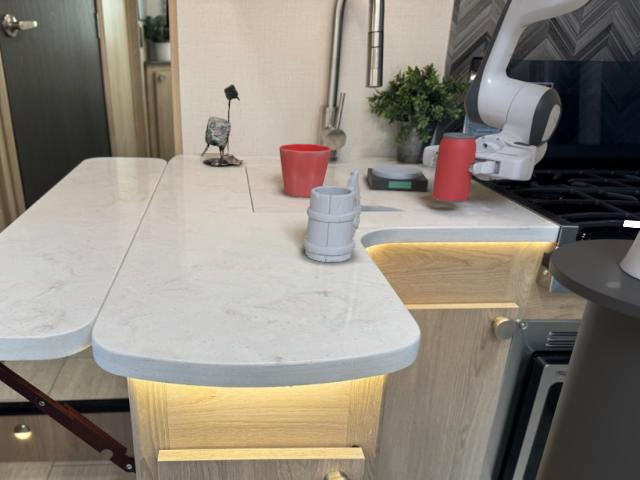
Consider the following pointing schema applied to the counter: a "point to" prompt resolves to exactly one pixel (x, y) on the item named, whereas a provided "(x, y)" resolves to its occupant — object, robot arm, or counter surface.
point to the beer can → (454, 167)
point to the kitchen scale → (396, 178)
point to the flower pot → (303, 167)
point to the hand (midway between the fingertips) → (452, 165)
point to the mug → (333, 221)
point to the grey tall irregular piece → (221, 132)
